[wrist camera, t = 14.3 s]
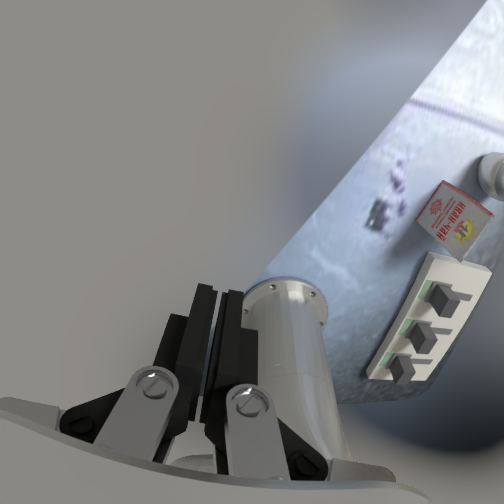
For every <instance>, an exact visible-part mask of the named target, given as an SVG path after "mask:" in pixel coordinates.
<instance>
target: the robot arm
mask: <svg viewBox="0 0 504 504" xmlns="http://www.w3.org/2000/svg"><path fill="white" fill-rule="evenodd" d="M212 288H213V286H210V285H205V284H200V283H199V284H198V286H197V290H196V293H195V297H194V300H193V303H192V307H191V310H190V314H189V317H186V316H181V315H176V314H171V315H170V317H169V320H168V323H167V325H166V328H165V331H164V335H163V337H162V340H161V343H160V346H159V348H158V351H157V354H156V357H155V361H154V363H153V366H147V367H143V368H141V369H139V370H138V371H136V372H135V373H134V375H133V376H132V378H131V379H130V381H129V383H128V384H127V386H126V388H123V389H121V390H118V391H116V392H113V393H110V394H108V395H105V396H102V397H100V398H97V399H94V400H92V401H89V402H86V403H83V404H81V405H78V406H75V407H72V408H71V409H69V410H67V411H65V410H60V409H59V407H57V406H51V405H45V404H40V403H35V402H30V401H25V400H21V399H16V398H12V397H4V398H1V399H0V504H434V503H433V502H432V500H431V498H430V497H429V496H428V495H427V494H426V493H424V492H423V491H421V490H419V489H417V488H414V487H412V486H408V485H405V484H401V483H396V478H395V476H394V474H393V473H392V472H391V471H390V470H389V469H387V468H385V467H382V466H376V465H369V464H363V463H358V462H353V459H352V457H351V454H350V451H349V448H348V446H347V443H346V439H345V436H344V433H343V429H342V425H341V421H340V417H339V412H338V408H337V403H336V398H335V393H334V388H333V383H332V378H331V373H330V369H329V364H328V359H327V354H326V349H325V345H324V340H323V336H322V330H323V329H324V327H325V325H326V323H327V319H328V307H327V303H326V300H325V297H324V296H323V294H322V293H321V291H320V290H319V289H318V288H317V287H315V286H314V285H313V284H311V283H309V282H307V281H305V280H302V279H299V278H293V277H279V278H273V279H269V280H266V281H264V282H262V283H260V284H258V285H256V286H255V287H254V288H252V289H251V290H250V291H249V292H248V293H247V294H246V295H245V297H244V299H243V295H244V292H240V291H235V290H230V289H229V291H228V293H225V292H223V293H222V298H221V302H220V307H219V312H218V317H217V322H216V327H215V332H214V337H213V342H212V348H211V353H210V359H209V365H208V371H207V377H206V383H205V390H204V396H203V403H202V408H201V415H200V421H199V422H200V423H205V429H204V431H205V435H206V436H207V437H208V439H209V440H210V441H211V442H212V443H213V454H208V455H191V456H186V457H182V458H180V459H177V460H176V461H174V462H173V463H171V464H170V465H165V462H166V460H167V457H168V455H169V452H170V450H171V447H172V445H173V442H174V439H175V436H177V435H179V434H181V433H183V432H185V431H186V428H187V424H188V420H189V421H194V420H195V414H196V408H197V402H198V397H199V391H200V385H201V380H202V374H203V368H204V363H205V357H206V352H207V346H208V341H209V335H210V330H211V325H212V319H213V314H214V309H215V304H216V298H217V293H218V291H215V290H212Z"/></svg>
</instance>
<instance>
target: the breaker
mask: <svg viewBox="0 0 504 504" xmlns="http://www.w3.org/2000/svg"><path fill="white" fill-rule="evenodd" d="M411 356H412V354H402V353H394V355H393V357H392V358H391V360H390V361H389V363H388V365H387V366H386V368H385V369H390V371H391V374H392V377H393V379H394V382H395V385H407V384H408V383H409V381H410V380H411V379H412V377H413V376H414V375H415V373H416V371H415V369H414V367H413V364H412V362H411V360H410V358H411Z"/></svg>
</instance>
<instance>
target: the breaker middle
mask: <svg viewBox="0 0 504 504" xmlns="http://www.w3.org/2000/svg"><path fill="white" fill-rule="evenodd" d="M431 324H432V322H429V321H421V320H414V322H413V323H412V325H411V327H410V329H409V330H408V332H407V334H406V335H405V337H404V338H407V339H410V341H411V343H412V345H413V347H414V349H415V351H416V353H417V354H429V353H430V351H431V350H432V348H433V347H434V345H435V344H436V342H437V341H438V339H437V337H436V335H435V334H434V332H433V330H432V328H431V327H430V326H431Z"/></svg>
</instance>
